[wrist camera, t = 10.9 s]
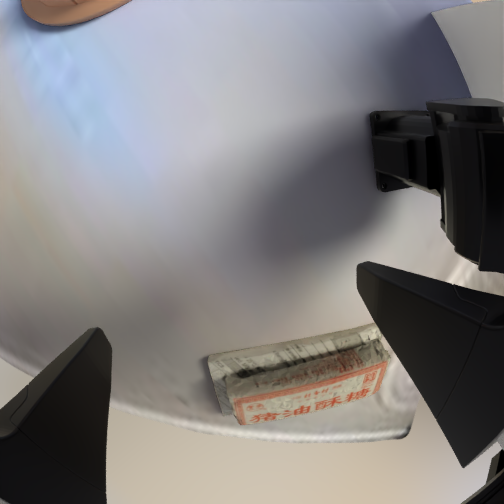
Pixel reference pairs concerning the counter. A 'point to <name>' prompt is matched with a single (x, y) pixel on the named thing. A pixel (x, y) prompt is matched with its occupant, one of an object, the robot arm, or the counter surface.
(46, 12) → the holder
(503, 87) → the milk
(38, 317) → the counter surface
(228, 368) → the packaged product
